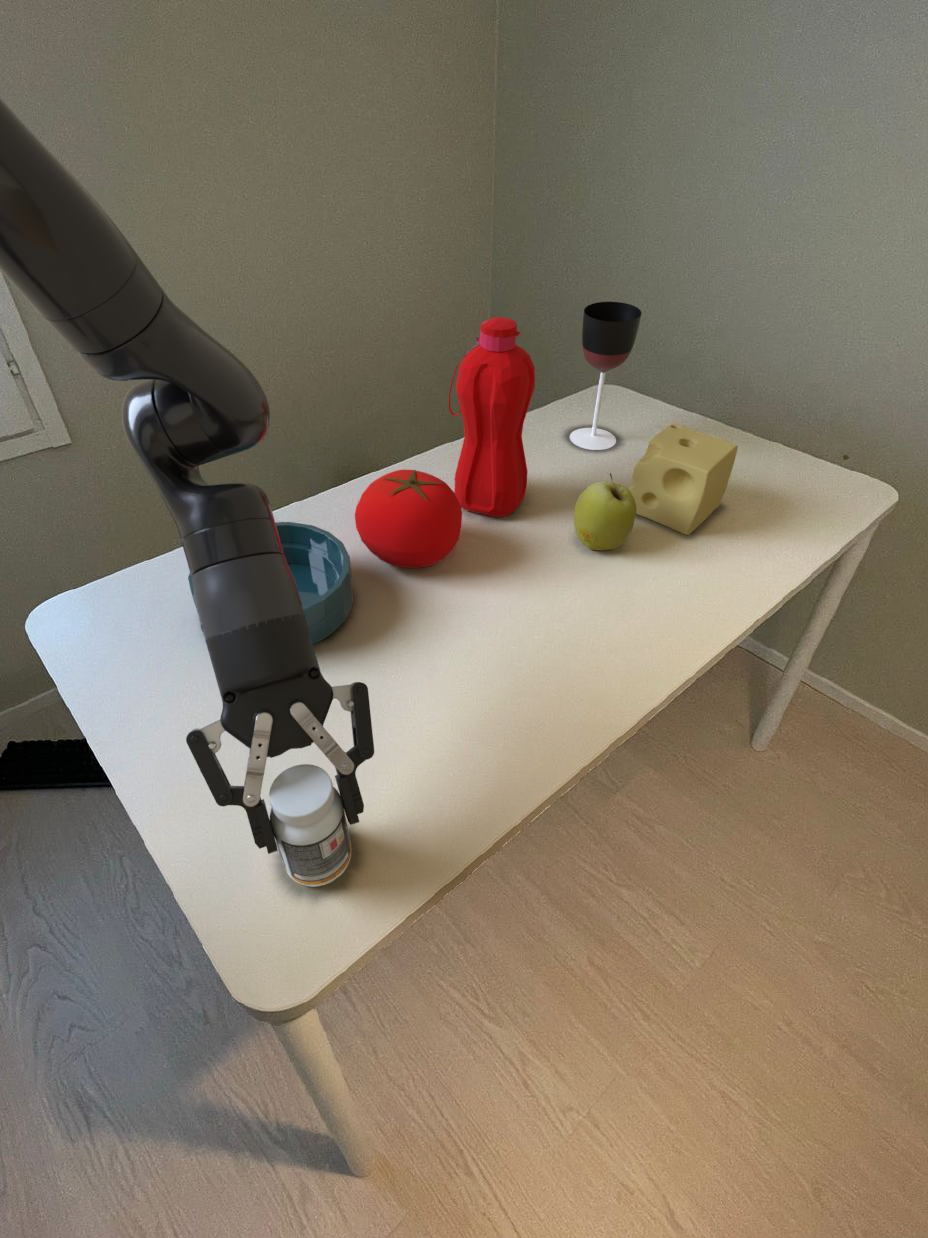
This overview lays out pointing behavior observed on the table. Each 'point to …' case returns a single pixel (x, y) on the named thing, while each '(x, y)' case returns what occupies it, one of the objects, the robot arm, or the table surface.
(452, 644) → the table surface
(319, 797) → the pill bottle
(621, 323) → the wineglass
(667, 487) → the cheese
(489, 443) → the water bottle
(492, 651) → the table surface
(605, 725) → the table surface
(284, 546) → the bowl
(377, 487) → the tomato
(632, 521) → the apple
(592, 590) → the table surface
